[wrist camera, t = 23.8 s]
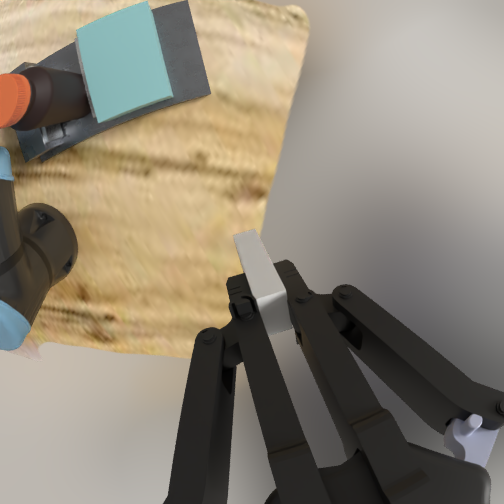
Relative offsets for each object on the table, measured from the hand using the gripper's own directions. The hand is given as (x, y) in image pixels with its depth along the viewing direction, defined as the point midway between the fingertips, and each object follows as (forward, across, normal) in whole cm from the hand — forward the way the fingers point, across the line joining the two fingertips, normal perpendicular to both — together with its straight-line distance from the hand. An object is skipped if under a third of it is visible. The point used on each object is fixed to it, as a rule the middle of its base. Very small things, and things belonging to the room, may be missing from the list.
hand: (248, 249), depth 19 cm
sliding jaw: (+24, -8, +19) cm, 32 cm away
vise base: (+26, -12, +19) cm, 35 cm away
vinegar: (+25, -16, +18) cm, 34 cm away
